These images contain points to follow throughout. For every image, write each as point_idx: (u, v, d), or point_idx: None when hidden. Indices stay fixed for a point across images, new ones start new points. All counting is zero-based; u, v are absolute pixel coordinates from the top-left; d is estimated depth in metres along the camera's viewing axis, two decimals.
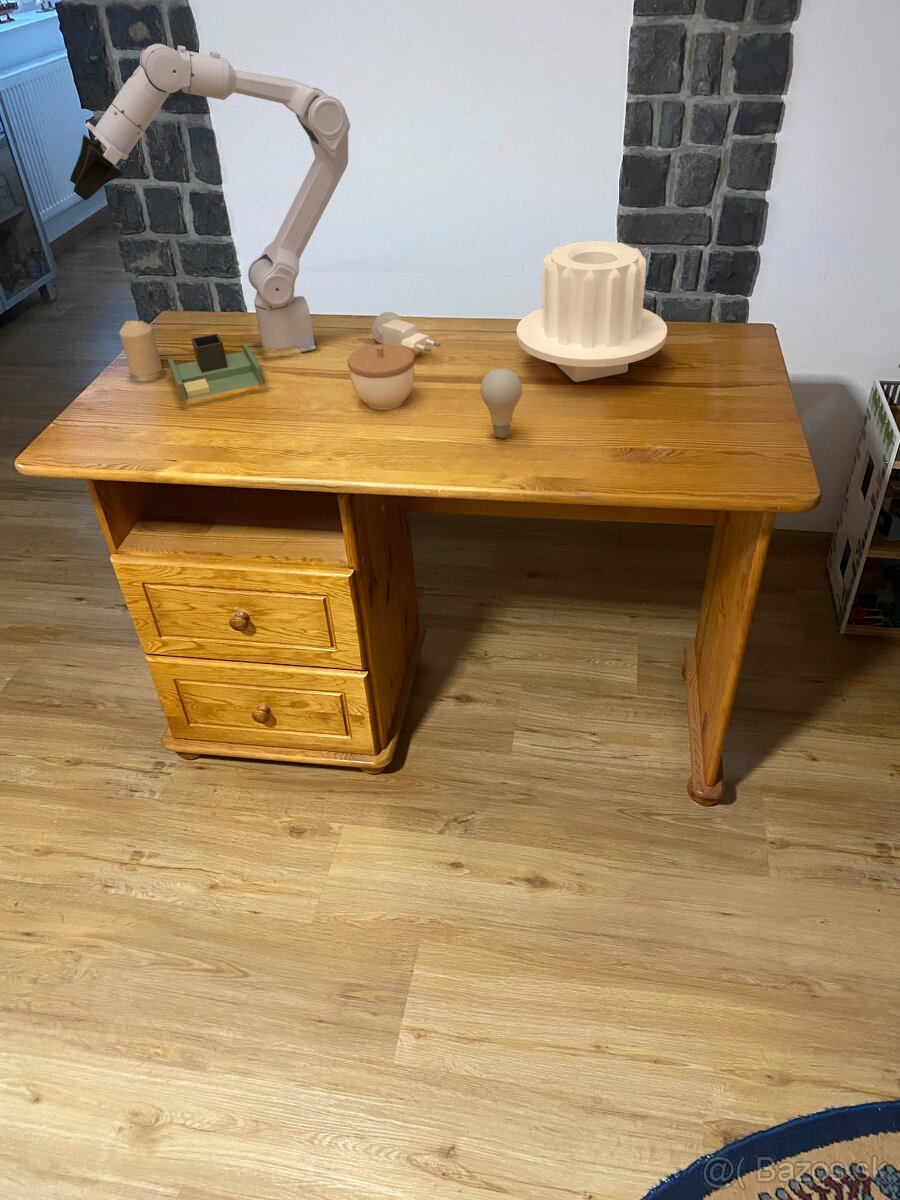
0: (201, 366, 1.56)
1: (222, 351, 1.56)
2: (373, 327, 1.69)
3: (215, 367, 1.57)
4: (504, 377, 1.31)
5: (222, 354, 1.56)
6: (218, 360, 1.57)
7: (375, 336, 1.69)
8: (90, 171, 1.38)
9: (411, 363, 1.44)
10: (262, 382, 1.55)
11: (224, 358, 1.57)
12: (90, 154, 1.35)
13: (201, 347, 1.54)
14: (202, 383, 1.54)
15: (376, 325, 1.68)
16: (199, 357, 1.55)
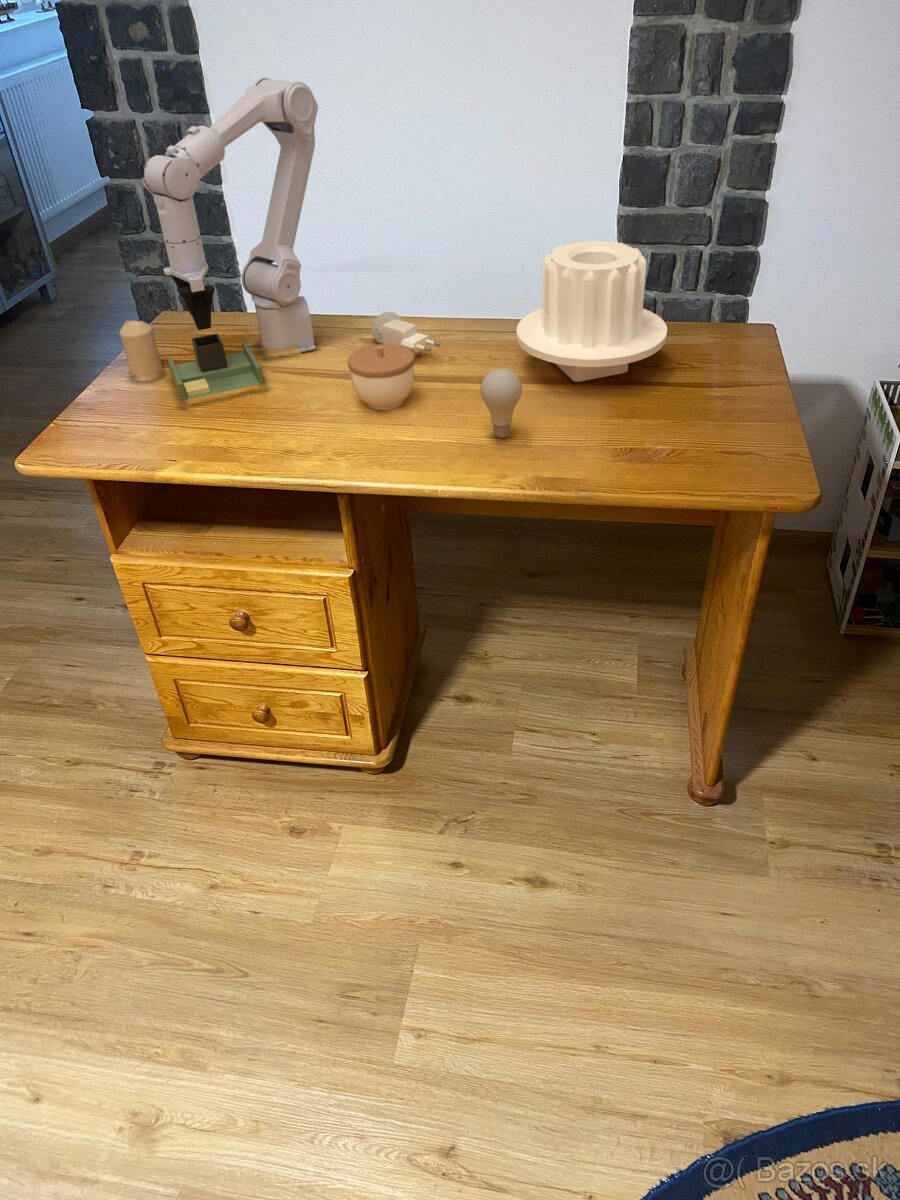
0: (201, 366, 1.56)
1: (222, 351, 1.56)
2: (373, 327, 1.69)
3: (215, 367, 1.57)
4: (504, 377, 1.31)
5: (222, 354, 1.56)
6: (218, 360, 1.57)
7: (375, 336, 1.69)
8: (195, 306, 1.48)
9: (411, 363, 1.44)
10: (262, 382, 1.55)
11: (224, 358, 1.57)
12: (184, 297, 1.45)
13: (201, 347, 1.54)
14: (202, 383, 1.54)
15: (376, 325, 1.68)
16: (199, 357, 1.55)
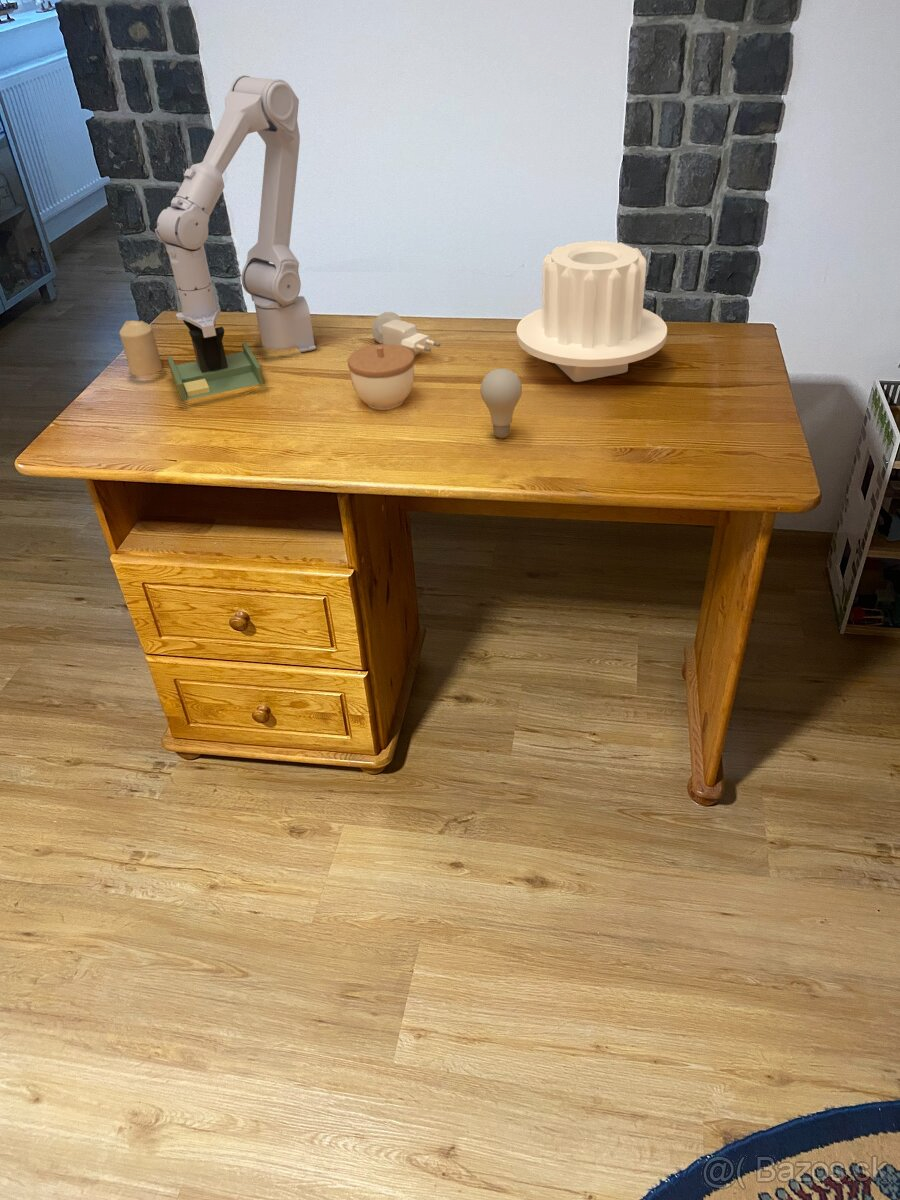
0: (201, 366, 1.56)
1: (222, 351, 1.56)
2: (373, 327, 1.69)
3: None
4: (504, 377, 1.31)
5: (222, 354, 1.56)
6: None
7: (375, 336, 1.69)
8: (205, 347, 1.54)
9: (411, 363, 1.44)
10: (262, 382, 1.55)
11: (224, 358, 1.57)
12: (195, 340, 1.51)
13: None
14: (202, 383, 1.54)
15: (376, 325, 1.68)
16: (199, 357, 1.55)
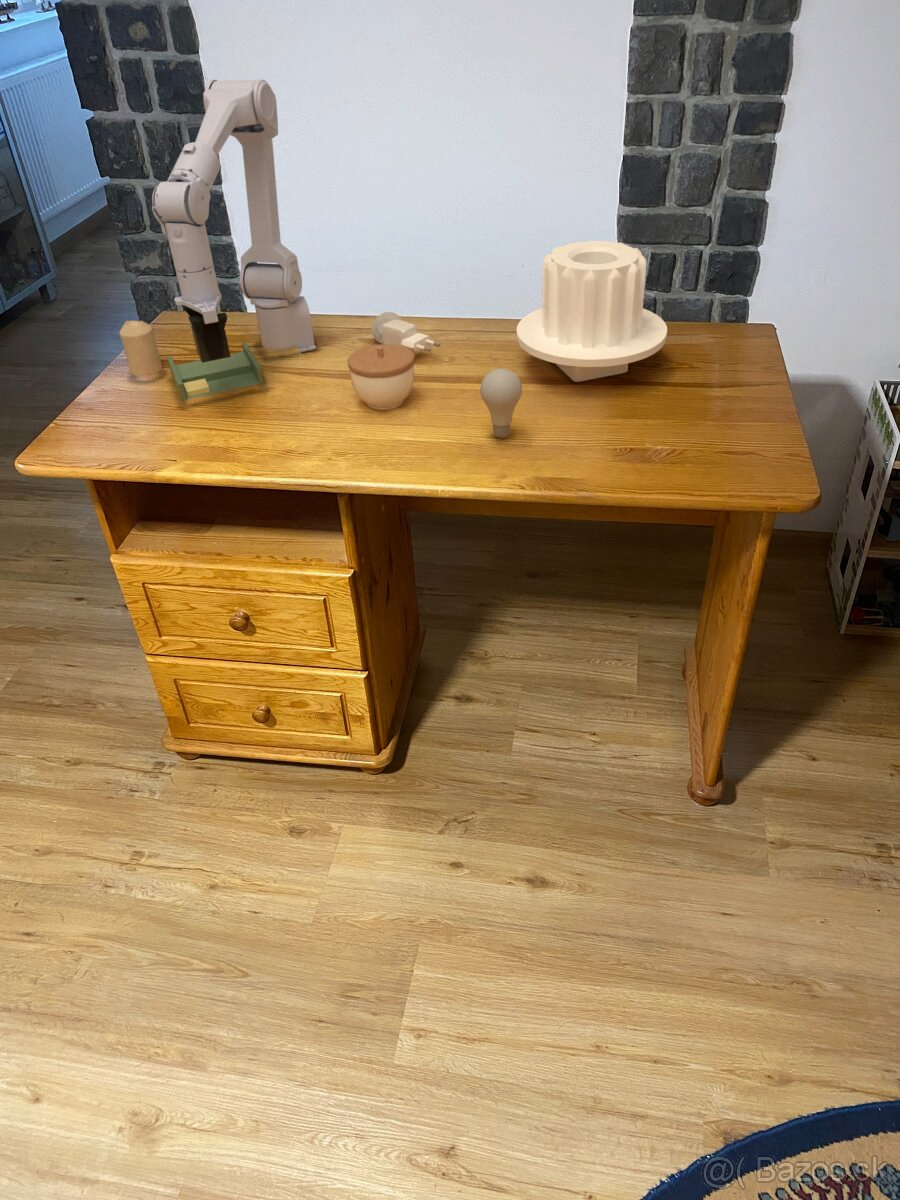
0: (202, 356, 1.44)
1: (224, 339, 1.44)
2: (373, 327, 1.69)
3: None
4: (504, 377, 1.31)
5: (224, 343, 1.44)
6: None
7: (375, 336, 1.69)
8: (206, 335, 1.41)
9: (411, 363, 1.44)
10: (262, 382, 1.55)
11: (227, 347, 1.44)
12: (195, 327, 1.38)
13: None
14: (202, 383, 1.54)
15: (376, 325, 1.68)
16: (199, 346, 1.43)
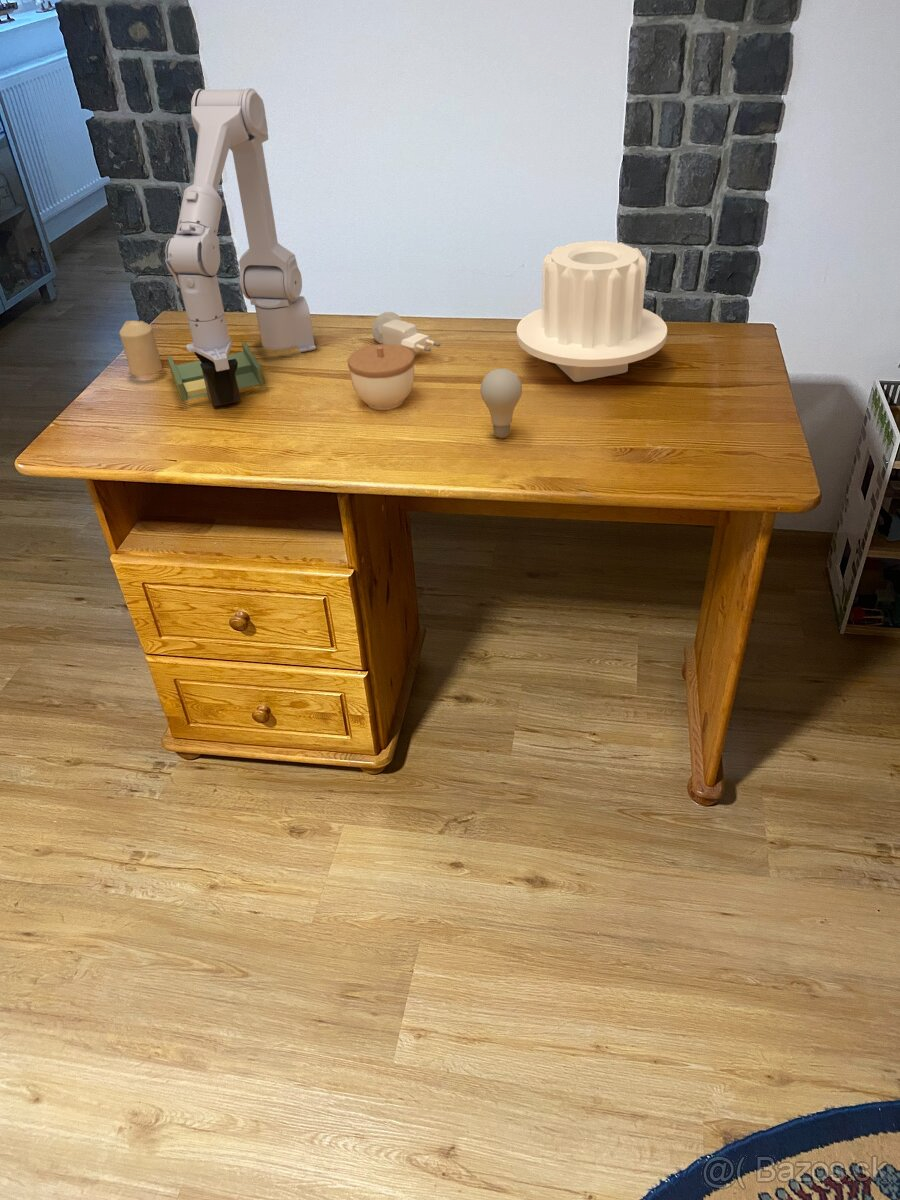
0: (212, 400, 1.47)
1: (234, 384, 1.47)
2: (373, 327, 1.69)
3: None
4: (504, 377, 1.31)
5: (235, 387, 1.47)
6: None
7: (375, 336, 1.69)
8: (217, 380, 1.45)
9: (411, 363, 1.44)
10: (262, 382, 1.55)
11: (237, 391, 1.48)
12: (207, 373, 1.42)
13: None
14: (202, 383, 1.54)
15: (376, 325, 1.68)
16: (210, 391, 1.46)
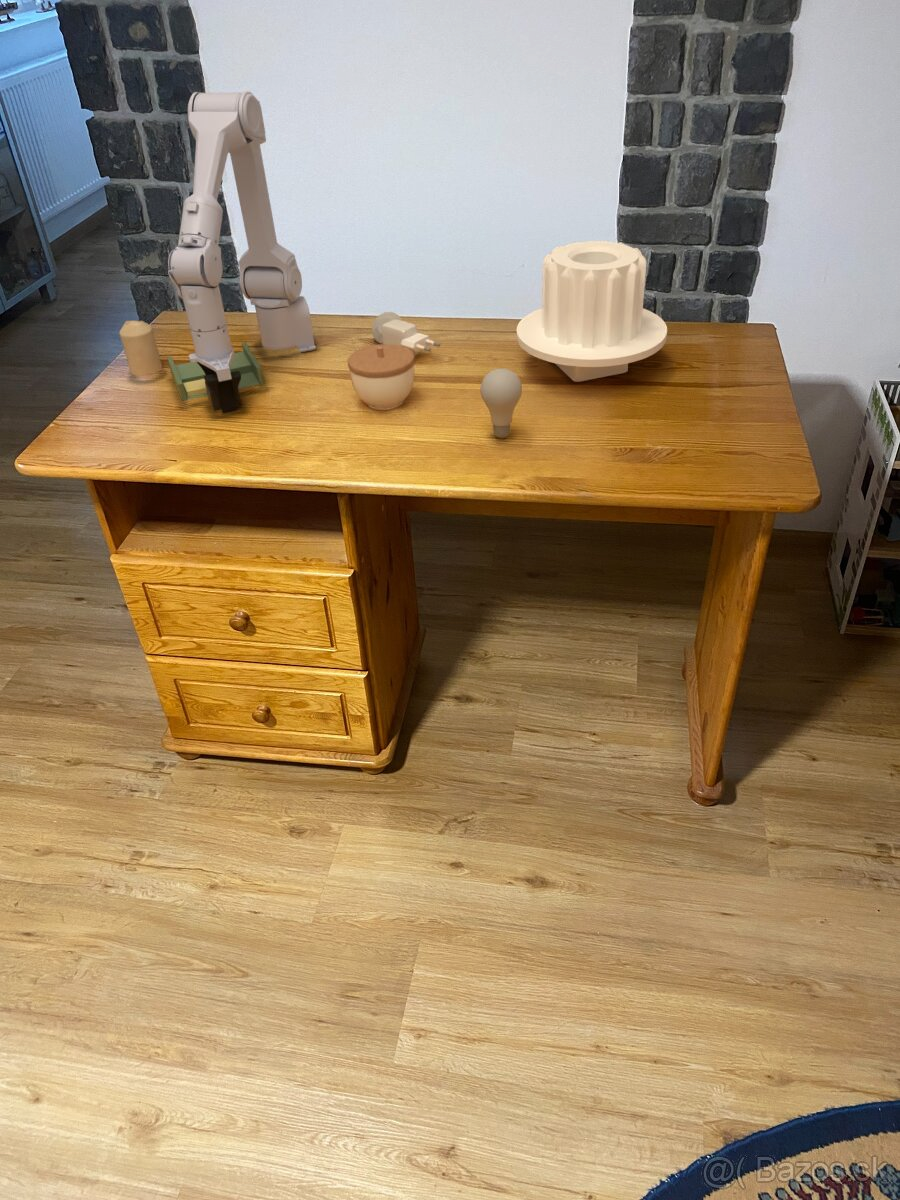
0: None
1: (237, 395, 1.48)
2: (373, 327, 1.69)
3: None
4: (504, 377, 1.31)
5: (237, 398, 1.48)
6: None
7: (375, 336, 1.69)
8: (221, 392, 1.45)
9: (411, 363, 1.44)
10: (262, 382, 1.55)
11: (239, 402, 1.49)
12: (210, 386, 1.42)
13: None
14: (202, 383, 1.54)
15: (376, 325, 1.68)
16: (213, 402, 1.47)
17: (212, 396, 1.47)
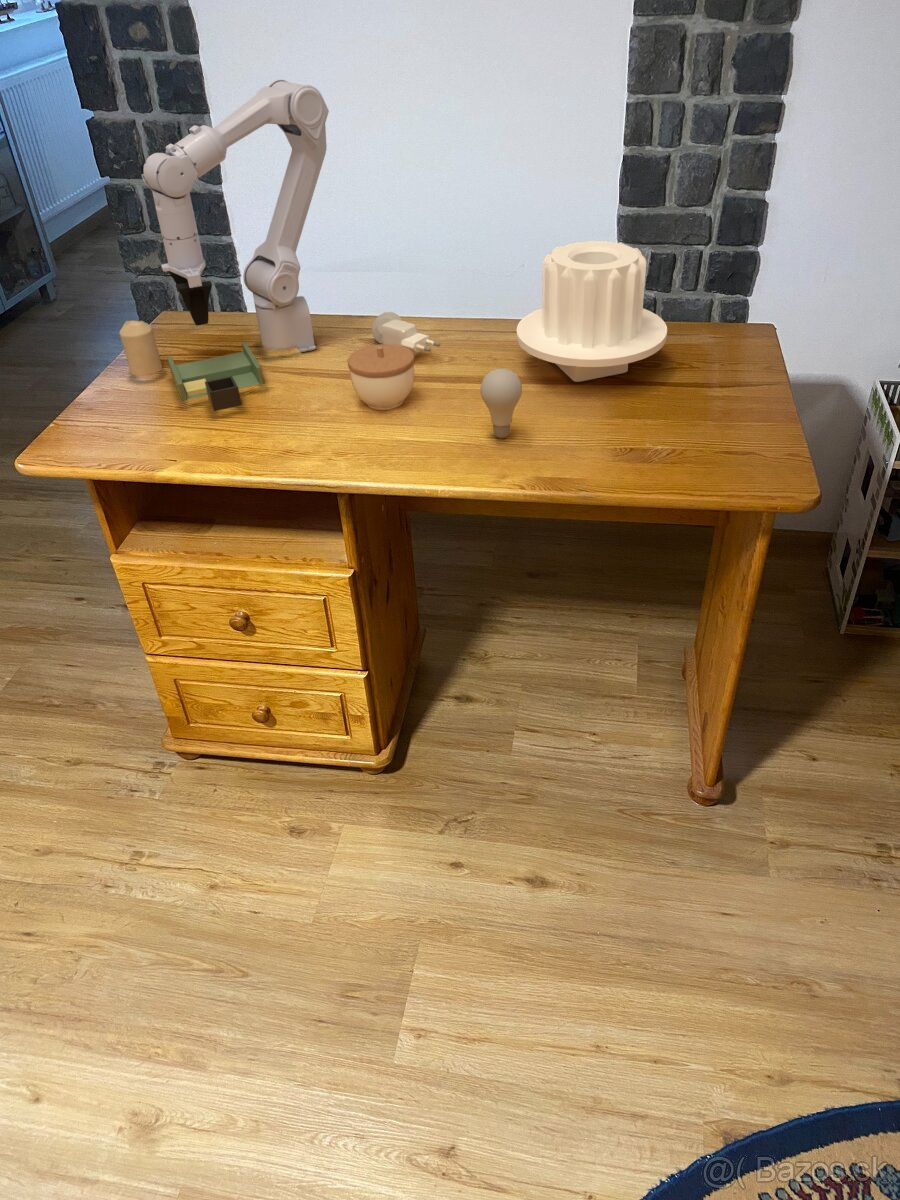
0: None
1: (237, 395, 1.48)
2: (373, 327, 1.69)
3: None
4: (504, 377, 1.31)
5: (237, 398, 1.48)
6: (233, 405, 1.49)
7: (375, 336, 1.69)
8: (192, 302, 1.50)
9: (411, 363, 1.44)
10: (262, 382, 1.55)
11: (239, 402, 1.49)
12: (182, 293, 1.47)
13: (215, 392, 1.46)
14: (202, 383, 1.54)
15: (376, 325, 1.68)
16: (213, 402, 1.47)
17: (212, 396, 1.47)
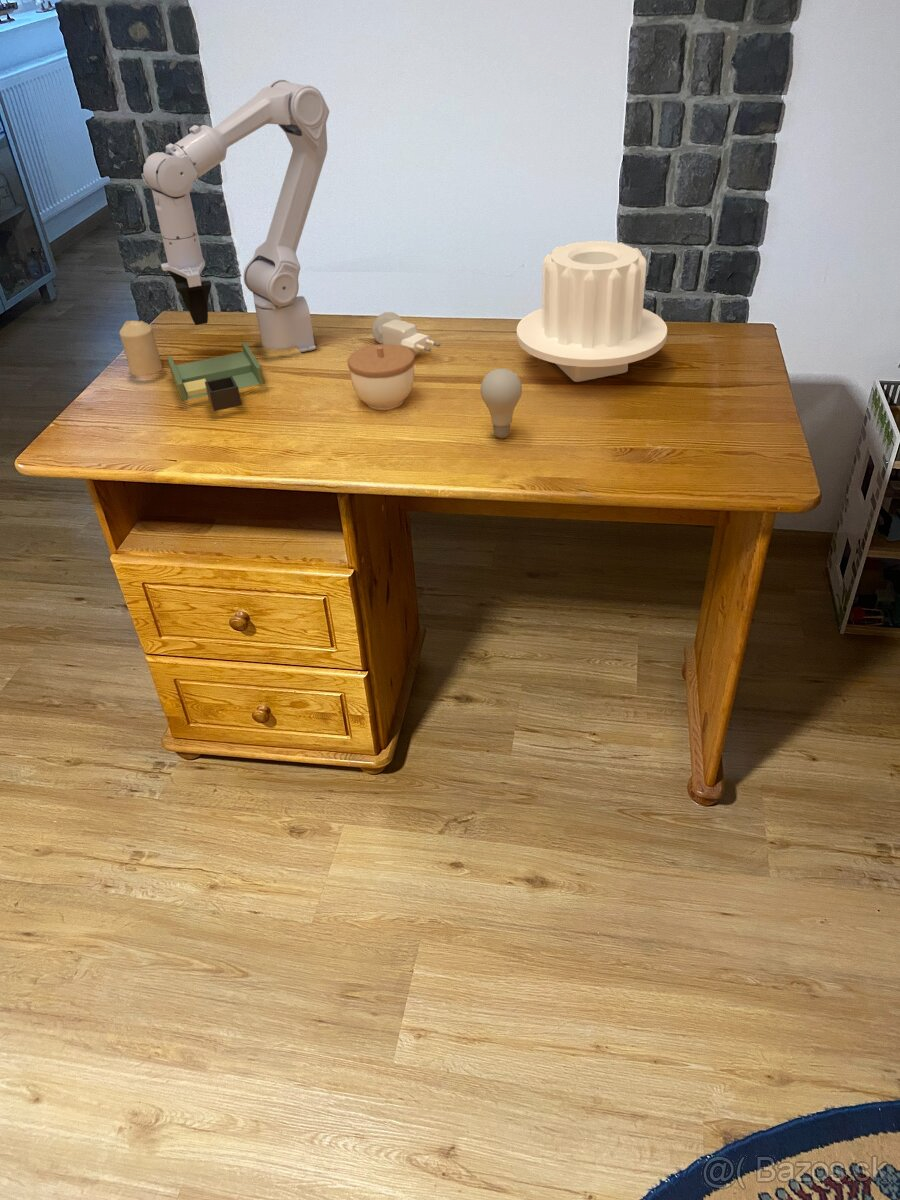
0: None
1: (237, 395, 1.48)
2: (373, 327, 1.69)
3: None
4: (504, 377, 1.31)
5: (237, 398, 1.48)
6: (233, 405, 1.49)
7: (375, 336, 1.69)
8: (192, 301, 1.50)
9: (411, 363, 1.44)
10: (262, 382, 1.55)
11: (239, 402, 1.49)
12: (181, 293, 1.48)
13: (215, 392, 1.46)
14: (202, 383, 1.54)
15: (376, 325, 1.68)
16: (213, 402, 1.47)
17: (212, 396, 1.47)
